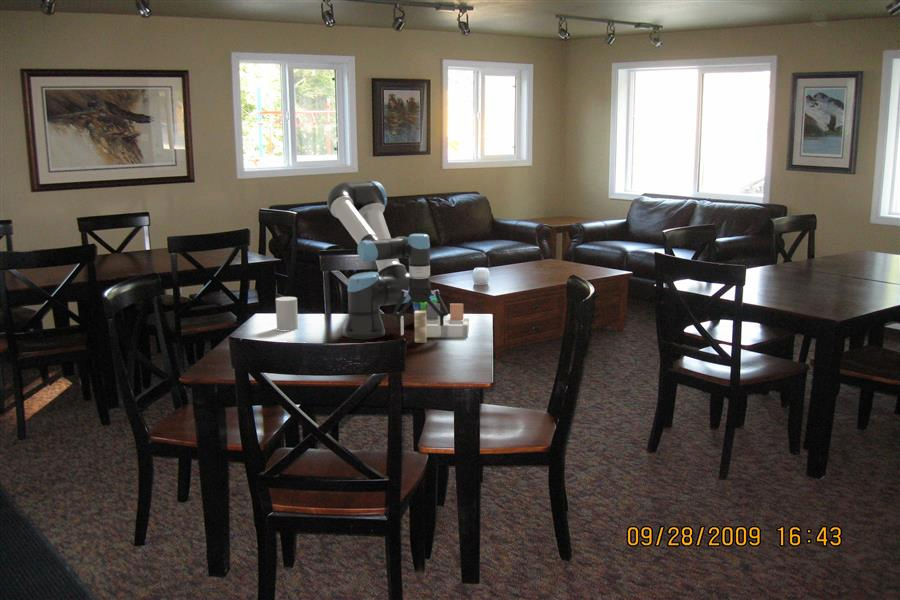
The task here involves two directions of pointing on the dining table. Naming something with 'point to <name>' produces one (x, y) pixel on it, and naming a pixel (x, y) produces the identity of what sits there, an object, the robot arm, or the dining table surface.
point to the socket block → (447, 322)
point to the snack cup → (423, 305)
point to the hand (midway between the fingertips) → (420, 334)
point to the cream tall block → (420, 326)
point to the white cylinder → (286, 313)
